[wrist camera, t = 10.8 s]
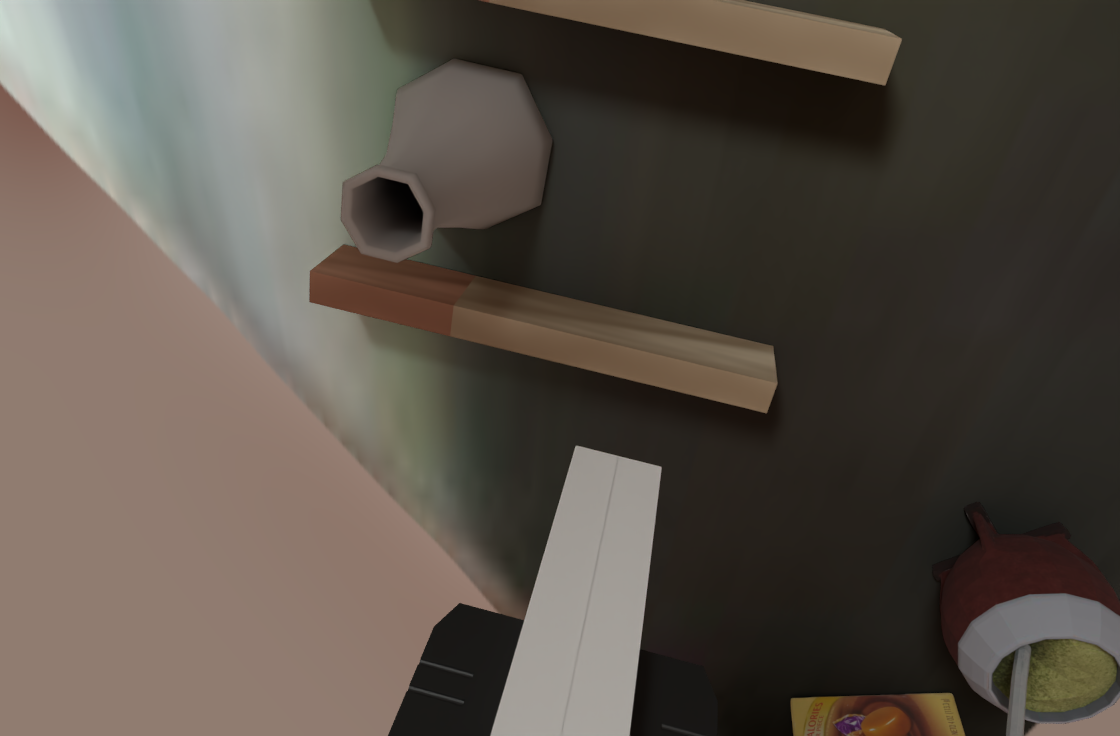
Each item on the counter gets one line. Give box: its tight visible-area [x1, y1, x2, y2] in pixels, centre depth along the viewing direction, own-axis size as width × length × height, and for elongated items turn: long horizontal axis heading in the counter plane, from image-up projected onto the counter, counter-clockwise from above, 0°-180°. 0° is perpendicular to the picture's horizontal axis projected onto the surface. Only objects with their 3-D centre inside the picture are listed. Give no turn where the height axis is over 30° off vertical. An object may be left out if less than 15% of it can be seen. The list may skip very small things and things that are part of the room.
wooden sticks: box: [310, 0, 902, 413], centre depth 32 cm, size 15×20×4 cm
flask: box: [341, 58, 553, 263], centre depth 30 cm, size 7×7×10 cm
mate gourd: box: [932, 502, 1120, 736], centre depth 32 cm, size 8×8×15 cm
